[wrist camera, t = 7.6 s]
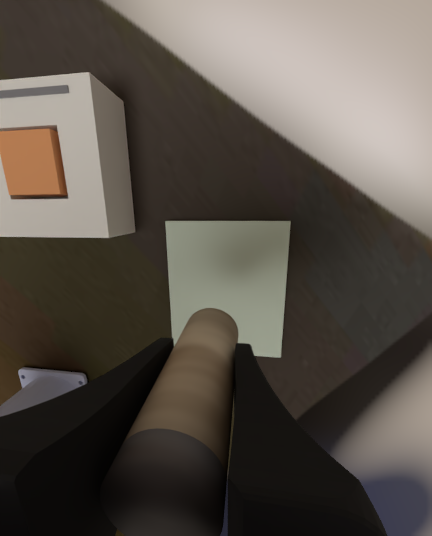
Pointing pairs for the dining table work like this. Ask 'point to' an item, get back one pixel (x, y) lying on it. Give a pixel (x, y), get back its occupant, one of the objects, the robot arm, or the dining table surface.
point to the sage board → (231, 276)
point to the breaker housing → (71, 158)
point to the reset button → (33, 163)
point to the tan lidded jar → (179, 439)
